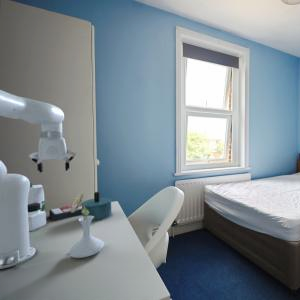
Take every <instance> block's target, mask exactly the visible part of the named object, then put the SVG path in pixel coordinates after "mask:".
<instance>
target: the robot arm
mask: <svg viewBox="0 0 300 300" xmlns="http://www.w3.org/2000/svg"><path fill="white" fill-rule="evenodd" d="M0 117H4V118H8V119H15V120H23V121H25V122H27V123H28V124H31V125H41V132H37V136H38V137H40V138H39V141H38V150H37V151H34V152H32V153H30V154H29V155H28V157H29V158H30V159H31V161H33V162H34V163H35V164H36V166H37V171H39V173H42V172H43V171H44V167H43V163H42V162H44V161H50V160H51V161H54V160H63V161H65V162H64V169H65V171H66V172H68V171H69V169H70V162H71V161H72V160H73V159H74V158H75V156H76V152H75V151H71V150H68V149H67V144H66V140H65V138H64V137H63V122H64V120H65V114H64V111H63V110H62V109H61V107H58V106H56V105H54V104H52V103H48V102H45V101H40V100H36V99H33V98H28V97H23V96H18V95H15V94H12V93H10V92H7V91H5V90H2V89H0ZM36 155H38V159H37V158H36ZM68 155H70V157H69V158H68ZM2 161H3V160H0V270H3V269H7V268H11V267H14V266H17V265H18V264H20V263H22V262H25V261H27V260H28V259H30V258H32V257H34V255H35V254H36V251H37V250H36V248H34V247H31V245H30V244H31V242H30V231H29V224H28V194H29V189H30V183H31V182H30V179H29V178H28V177H27V176H26V175H23V174H19V173H8V169H7V167H6V165H5V164H4V162H2Z"/></svg>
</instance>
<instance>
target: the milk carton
mask: <svg viewBox="0 0 300 300" xmlns="http://www.w3.org/2000/svg"><path fill="white" fill-rule="evenodd" d="M29 203H40V208H41V211H45V210H46V203H45V192H44V186H43V185H42V184H35V185H34V184H33V183H32V182H30V189H29V194H28V204H29ZM45 212H46V211H45Z"/></svg>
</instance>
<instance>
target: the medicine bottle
mask: <svg viewBox="0 0 300 300" xmlns="http://www.w3.org/2000/svg"><path fill="white" fill-rule="evenodd" d="M28 224H29V232H34V231H36V230H38V229H39V228H41V227H43V226H45V225H47V212H46V211H41V208H40V203H29V204H28Z"/></svg>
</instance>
